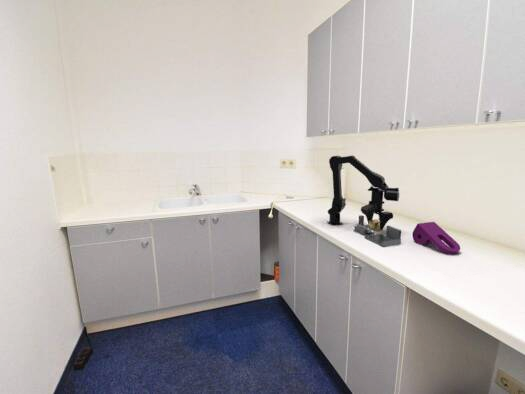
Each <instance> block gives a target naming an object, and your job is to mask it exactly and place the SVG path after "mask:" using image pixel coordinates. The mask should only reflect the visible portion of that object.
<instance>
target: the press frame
mask: <svg viewBox="0 0 525 394" xmlns="http://www.w3.org/2000/svg"><path fill="white" fill-rule="evenodd" d="M353 229H354V230H352V231H353V232H355V233H356V234H360V235H361V236H363V237H364V239H366V240H368V241H370V242H372V243H374V244H376V245H378V246H380V247H382V248H384V247H385V248H386V247H392V246H396V245H398V246H399V245H401V242H402V237H401V236H402V230H401V229H398V228H396V227H394V226H391V225H386V227H385V229H386V230H385V234H383V233H376V234H375V233H372V232H371V233H366V230H365V229H363V228H360V227H358V226H356V225H354V228H353ZM372 230H373V231H374V229H372Z"/></svg>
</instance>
